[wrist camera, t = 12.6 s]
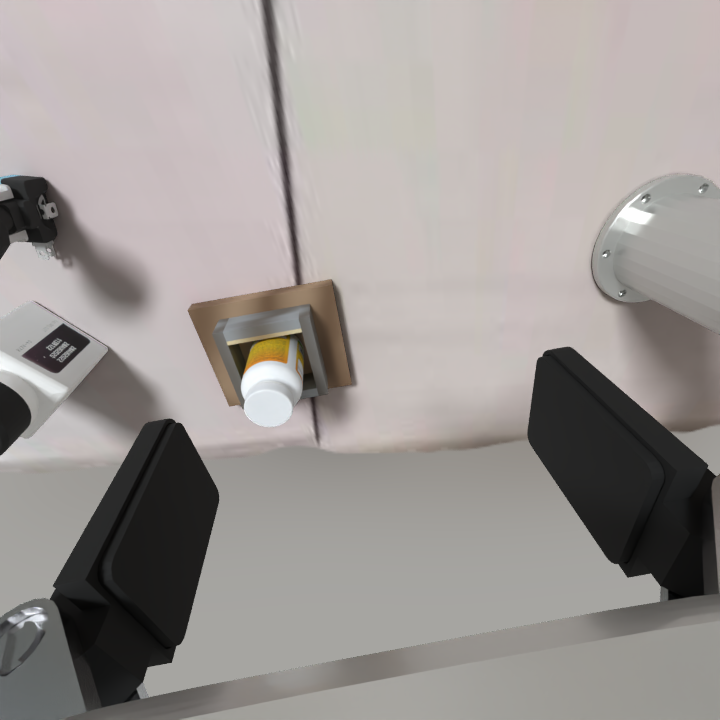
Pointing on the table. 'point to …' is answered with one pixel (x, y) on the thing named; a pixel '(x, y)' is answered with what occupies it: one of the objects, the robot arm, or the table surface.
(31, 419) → the container
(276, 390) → the supplement bottle
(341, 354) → the collar board
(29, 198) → the push button
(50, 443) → the table surface
